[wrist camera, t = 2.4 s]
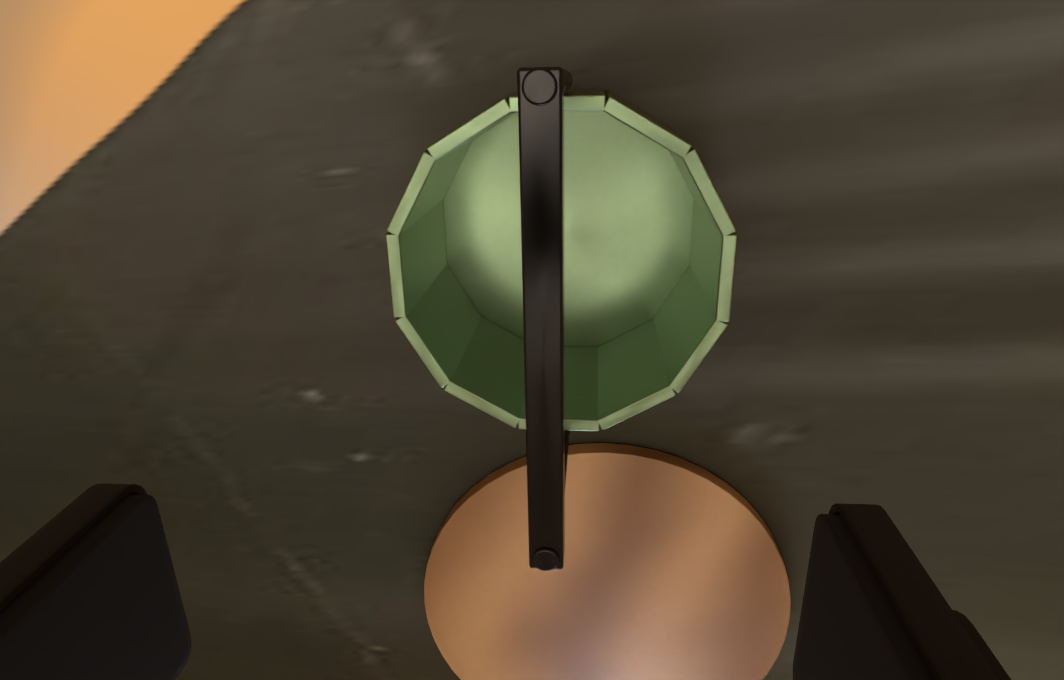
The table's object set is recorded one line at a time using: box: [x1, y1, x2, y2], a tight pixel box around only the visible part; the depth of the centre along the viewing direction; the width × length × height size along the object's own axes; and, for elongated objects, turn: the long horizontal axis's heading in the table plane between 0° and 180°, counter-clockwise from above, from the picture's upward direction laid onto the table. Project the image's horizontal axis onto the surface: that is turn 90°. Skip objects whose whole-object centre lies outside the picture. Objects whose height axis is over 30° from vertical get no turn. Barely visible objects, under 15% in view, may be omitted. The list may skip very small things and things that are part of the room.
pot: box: [386, 67, 737, 571], centre depth 24 cm, size 12×14×15 cm
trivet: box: [424, 443, 791, 680], centre depth 38 cm, size 20×20×1 cm
